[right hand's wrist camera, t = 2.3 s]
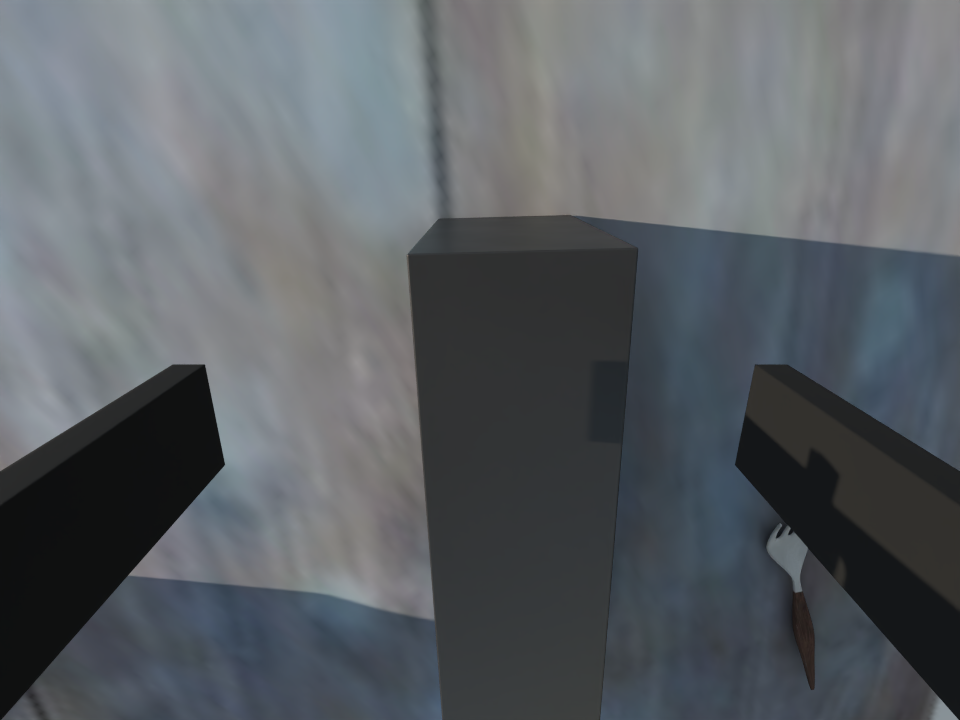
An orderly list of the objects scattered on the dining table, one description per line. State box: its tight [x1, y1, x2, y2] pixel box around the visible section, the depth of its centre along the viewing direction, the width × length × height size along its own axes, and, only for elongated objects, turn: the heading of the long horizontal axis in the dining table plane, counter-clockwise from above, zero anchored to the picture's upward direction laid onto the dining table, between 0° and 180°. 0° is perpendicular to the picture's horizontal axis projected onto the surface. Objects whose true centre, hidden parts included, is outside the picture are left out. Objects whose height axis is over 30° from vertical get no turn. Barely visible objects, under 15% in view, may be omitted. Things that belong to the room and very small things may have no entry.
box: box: [407, 215, 638, 720], centre depth 24 cm, size 26×6×11 cm, turn 1°
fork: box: [766, 523, 815, 690], centre depth 31 cm, size 3×16×2 cm, turn 18°
